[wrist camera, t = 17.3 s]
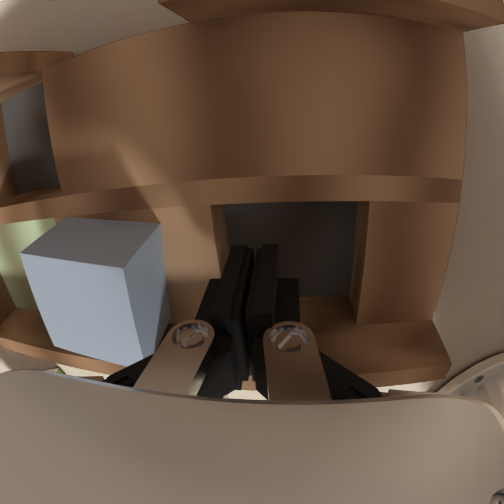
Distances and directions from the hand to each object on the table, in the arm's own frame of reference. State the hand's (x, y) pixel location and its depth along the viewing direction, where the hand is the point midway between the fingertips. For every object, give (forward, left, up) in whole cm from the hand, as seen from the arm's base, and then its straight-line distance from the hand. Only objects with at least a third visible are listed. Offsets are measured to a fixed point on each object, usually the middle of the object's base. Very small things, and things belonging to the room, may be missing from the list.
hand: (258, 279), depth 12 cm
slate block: (+7, 0, -1) cm, 7 cm away
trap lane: (+5, -3, -4) cm, 7 cm away
